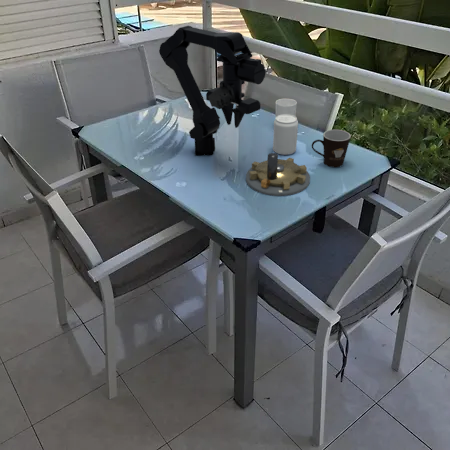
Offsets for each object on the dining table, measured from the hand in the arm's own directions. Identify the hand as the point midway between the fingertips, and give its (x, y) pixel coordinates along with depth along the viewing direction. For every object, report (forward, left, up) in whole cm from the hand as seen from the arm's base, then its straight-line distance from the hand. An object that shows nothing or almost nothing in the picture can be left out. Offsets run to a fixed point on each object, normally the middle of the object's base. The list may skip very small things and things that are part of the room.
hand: (232, 125), depth 153 cm
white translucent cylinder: (+20, +28, -13) cm, 37 cm away
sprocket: (+14, -12, -12) cm, 22 cm away
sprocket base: (+14, -12, -13) cm, 22 cm away
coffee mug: (+32, -1, -13) cm, 35 cm away
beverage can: (+18, +8, -13) cm, 24 cm away
